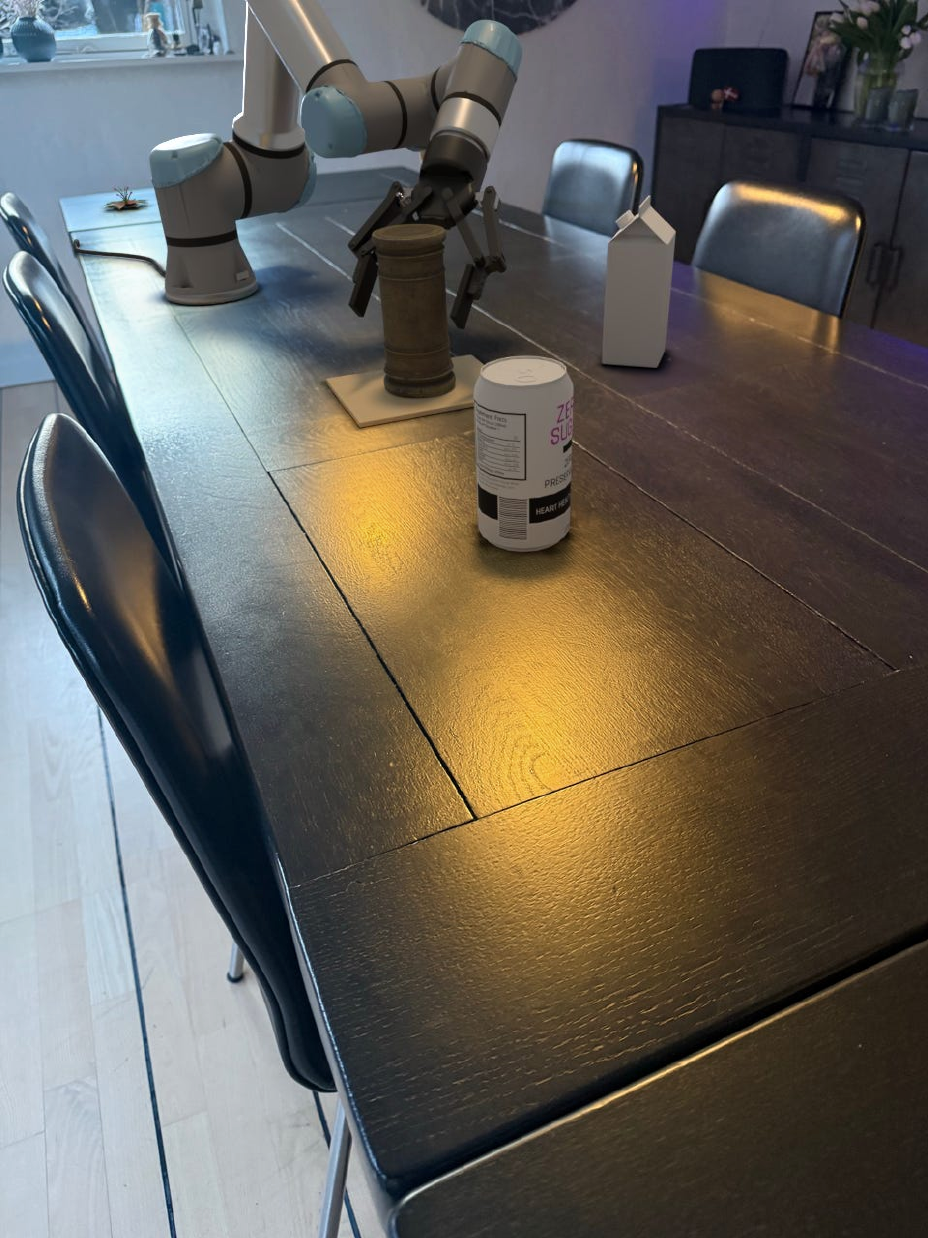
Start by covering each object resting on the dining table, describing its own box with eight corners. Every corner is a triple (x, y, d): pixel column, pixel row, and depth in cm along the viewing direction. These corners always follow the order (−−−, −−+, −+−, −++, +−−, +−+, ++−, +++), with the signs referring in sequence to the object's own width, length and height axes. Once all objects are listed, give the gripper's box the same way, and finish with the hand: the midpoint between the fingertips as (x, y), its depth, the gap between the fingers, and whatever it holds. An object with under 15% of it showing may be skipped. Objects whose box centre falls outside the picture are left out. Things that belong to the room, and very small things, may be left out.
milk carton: (665, 351, 119) (679, 195, 108) (656, 369, 114) (670, 207, 103) (612, 347, 121) (620, 194, 110) (601, 365, 116) (609, 206, 105)
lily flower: (143, 210, 218) (138, 190, 216) (94, 212, 219) (89, 192, 216) (157, 201, 228) (153, 181, 225) (111, 203, 228) (106, 183, 226)
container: (448, 400, 106) (439, 239, 96) (375, 397, 108) (359, 239, 98) (462, 373, 113) (456, 221, 103) (394, 371, 115) (381, 221, 105)
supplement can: (474, 514, 84) (468, 356, 75) (561, 507, 84) (565, 350, 76) (483, 559, 77) (477, 391, 69) (577, 551, 78) (583, 383, 69)
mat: (326, 383, 114) (325, 378, 114) (471, 358, 120) (471, 354, 120) (359, 427, 102) (359, 422, 102) (520, 397, 108) (520, 393, 107)
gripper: (564, 178, 105) (512, 344, 103) (382, 170, 115) (331, 322, 112) (547, 133, 98) (491, 310, 96) (355, 129, 108) (300, 289, 106)
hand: (405, 317), depth 104 cm, fingers open, 13 cm apart
